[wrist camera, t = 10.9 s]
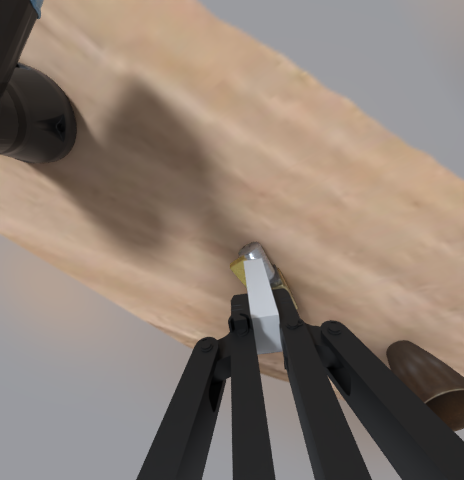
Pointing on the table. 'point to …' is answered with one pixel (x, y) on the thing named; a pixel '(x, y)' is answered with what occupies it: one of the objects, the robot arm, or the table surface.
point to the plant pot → (430, 381)
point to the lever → (239, 269)
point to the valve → (266, 267)
